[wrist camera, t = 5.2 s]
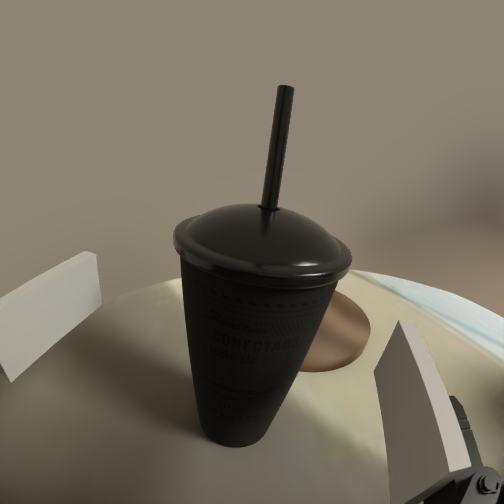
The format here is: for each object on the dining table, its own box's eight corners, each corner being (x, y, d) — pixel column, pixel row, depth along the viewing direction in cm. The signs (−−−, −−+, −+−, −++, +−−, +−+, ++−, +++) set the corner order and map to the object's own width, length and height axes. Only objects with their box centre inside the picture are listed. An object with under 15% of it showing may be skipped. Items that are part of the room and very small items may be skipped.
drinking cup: (210, 482, 11) (260, 29, 4) (164, 397, 17) (168, 84, 10) (308, 436, 16) (413, 115, 9) (251, 372, 21) (295, 110, 14)
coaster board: (303, 280, 40) (305, 271, 40) (390, 337, 28) (394, 326, 27) (203, 300, 31) (204, 288, 31) (288, 397, 19) (293, 385, 19)
